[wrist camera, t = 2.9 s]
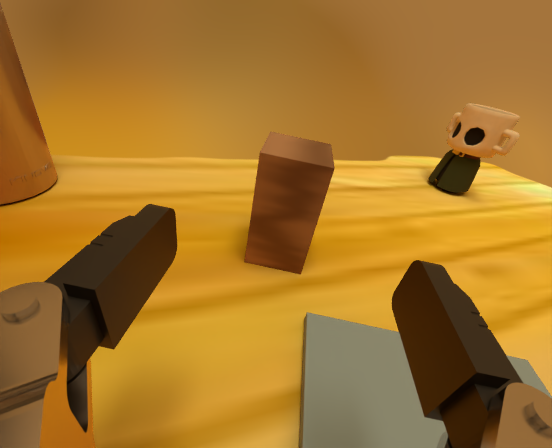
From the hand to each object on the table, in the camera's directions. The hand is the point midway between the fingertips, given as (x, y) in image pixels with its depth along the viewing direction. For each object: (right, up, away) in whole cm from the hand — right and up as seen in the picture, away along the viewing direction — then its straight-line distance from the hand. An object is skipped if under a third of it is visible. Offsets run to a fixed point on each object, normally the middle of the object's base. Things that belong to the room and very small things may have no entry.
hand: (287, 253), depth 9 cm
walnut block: (0, -1, +16) cm, 16 cm away
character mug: (+29, +7, +38) cm, 48 cm away
